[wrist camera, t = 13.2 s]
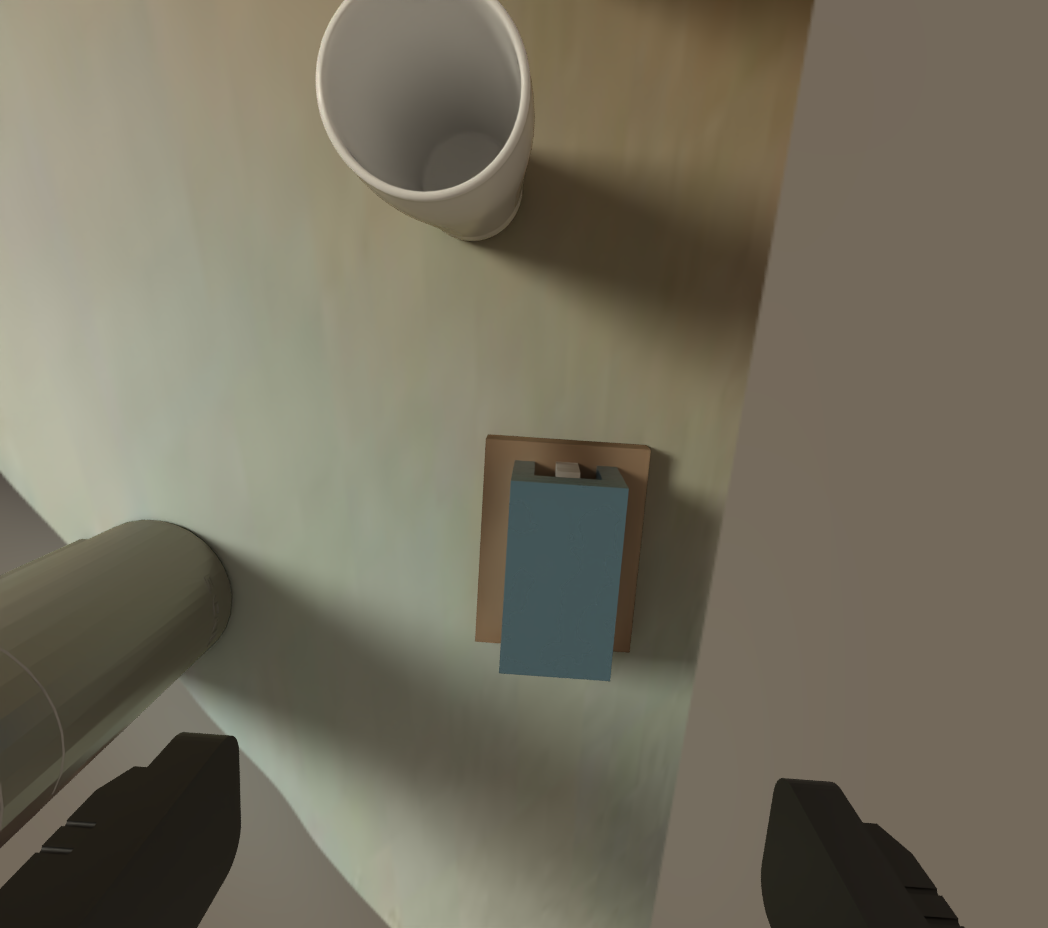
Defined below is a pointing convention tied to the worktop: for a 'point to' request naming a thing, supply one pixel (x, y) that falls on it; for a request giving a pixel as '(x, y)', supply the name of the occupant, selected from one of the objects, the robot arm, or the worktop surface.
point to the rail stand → (555, 462)
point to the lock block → (562, 573)
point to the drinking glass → (431, 108)
